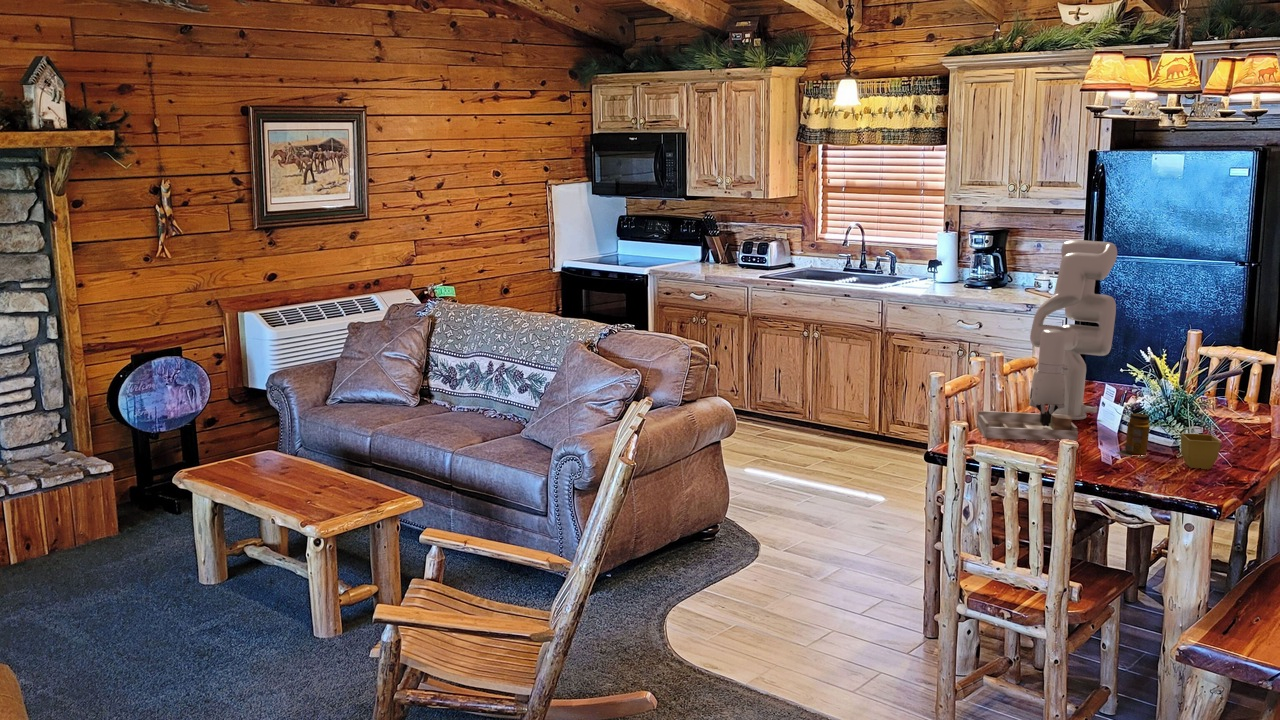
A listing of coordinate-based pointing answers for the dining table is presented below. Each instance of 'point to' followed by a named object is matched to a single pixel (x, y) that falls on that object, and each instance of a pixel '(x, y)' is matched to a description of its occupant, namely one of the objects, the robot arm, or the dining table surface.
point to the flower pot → (1199, 450)
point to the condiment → (1137, 435)
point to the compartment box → (1020, 426)
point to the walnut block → (1061, 422)
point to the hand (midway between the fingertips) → (1044, 425)
